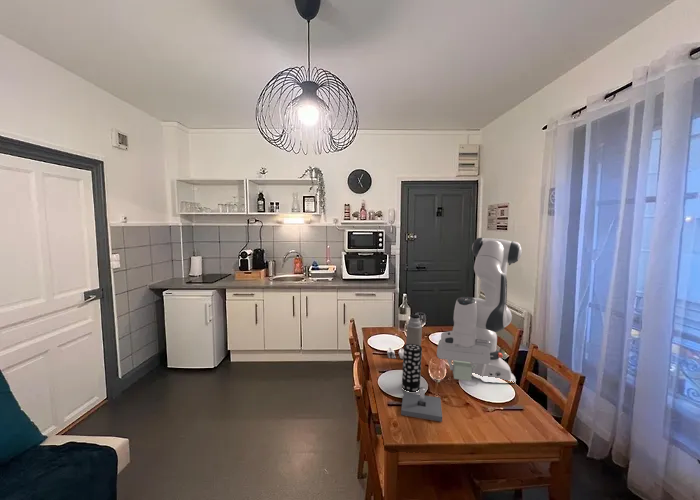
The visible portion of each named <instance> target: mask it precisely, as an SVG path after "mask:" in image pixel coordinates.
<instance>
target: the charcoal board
mask: <svg viewBox="0 0 700 500" xmlns="http://www.w3.org/2000/svg"><path fill="white" fill-rule="evenodd" d="M419 398H420V393H419V394H418V393H409V392H406V391H404V392H403V393H402V402H401V412H400V414H401V416H404V417H405V416H406V417H412V418H417V419H423V420H429V421H435V422H440V423H442V422H443V411H442V410H443V409H442V400H441V398H442V397H439V396H438V397H437V396H432V395H431V396H430V395H425V397H424V406H419Z"/></svg>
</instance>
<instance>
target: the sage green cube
mask: <svg viewBox="0 0 700 500" xmlns="http://www.w3.org/2000/svg"><path fill="white" fill-rule="evenodd" d="M452 365H454V370H452V375H453V380H460V381H461V380H462V381H469V382H471V381H472V376H471V375H472V366H471V362H463V361H455V360H452Z"/></svg>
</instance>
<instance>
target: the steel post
mask: <svg viewBox="0 0 700 500" xmlns="http://www.w3.org/2000/svg"><path fill="white" fill-rule="evenodd" d="M425 393H426V388H425V387H421V386H420V390H419V395H420V398H419V406H424V397H425V396H426V395H425ZM424 407H425V406H424Z"/></svg>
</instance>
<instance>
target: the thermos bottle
mask: <svg viewBox="0 0 700 500" xmlns="http://www.w3.org/2000/svg"><path fill="white" fill-rule="evenodd" d="M409 317H410V318H409V320H408V323H407V324H406V338H405V339H406V340H405V341H406V342H405V345H406V344H416V345H419V346H421V347H422V337H423V336H422V333H423V325H422V321H421V320H420V319H421V318H420V315H419V314H416V313H414V314H411V315H410V316H409Z"/></svg>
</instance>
